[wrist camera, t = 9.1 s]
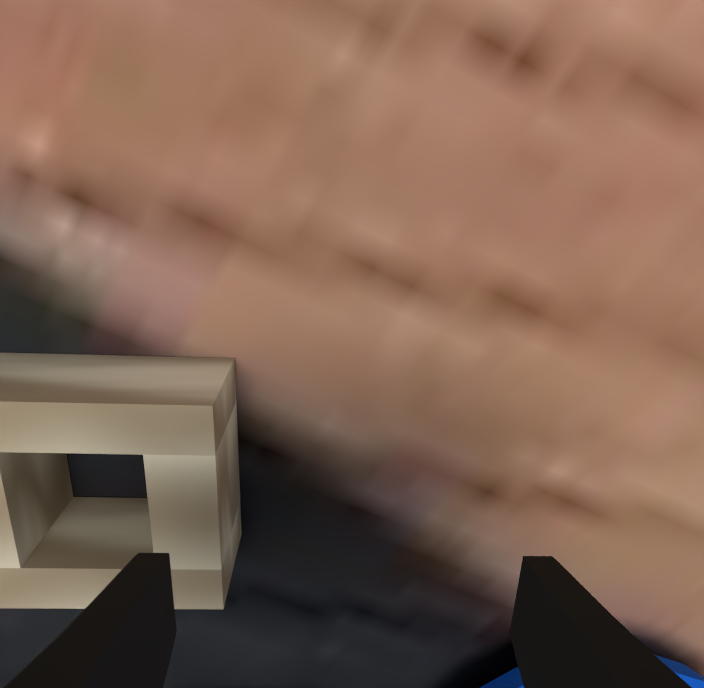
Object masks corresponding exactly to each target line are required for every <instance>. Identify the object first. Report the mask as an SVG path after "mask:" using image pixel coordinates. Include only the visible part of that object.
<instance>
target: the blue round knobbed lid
mask: <svg viewBox="0 0 704 688" xmlns="http://www.w3.org/2000/svg"><path fill="white" fill-rule="evenodd" d="M655 656H656V657H657V658H658V659H659V660H661V661H662V662H663V663H664V664H665V665H666V666H668V667H669V668H670V669H671V670H672V671H673V672H674V673H676V674H677V675H678V676H679V677H680V678H681V679H683V680H684V681H685V682H686V683H687V684H688V685H689V686H691V687H692V688H704V677H702V676H701V675H699V674H698V673H696V672H695V671H693V670H692V669H690V668H689V667H687V666H686V665H684V664H682V663H679V662H676V661H673V660H669V659H666V658H663V657H660V656H657V655H655ZM480 688H524V686H523V682H522V679H521V675H520V671H519V668H518V667H517V668H514V669H513V670H511V671H509V672H507V673H505V674H504V675H502V676H500V677H498V678H496V679H494V680H493V681H491V682H489V683H487V684H485V685H484V686H482V687H480Z"/></svg>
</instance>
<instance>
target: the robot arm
mask: <svg viewBox="0 0 704 688" xmlns="http://www.w3.org/2000/svg"><path fill="white" fill-rule="evenodd" d="M510 635H511V640H512V644H513V648H514V652H515V656H516V660H517V664H518V668H519V671H520V675H521V679H522V682H523V686H524V688H692V687H691V686H689V685H688V684H687V683H686V682H685V681H684V680H683V679H681V678H680V677H679V676H678V675H677V674H676V673H674V672H673V671H672V670H671V669H670V668H669V667H668V666H666V665H665V664H664V663H663V662H662V661H661V660H659V659H658V658H657V657H656V656H655V655H654V654H653V653H652V652H651V651H650V650H648V649H647V648H646V647H645V646H644V645H643V644H642V643H641V642H640V641H639V640H638V639H637V638H635V637H634V636H633V635H632V634H631V633H630V632H629V631H628V630H627V629H626V628H625V627H624V626H623V625H622V624H621V623H620V622H619V621H617V620H616V619H615V618H614V617H613V616H612V615H611V614H610V613H609V612H608V611H607V610H606V609H605V608H604V607H603V606H602V605H601V604H600V603H599V602H598V601H597V600H596V599H595V598H594V597H593V596H592V595H591V594H590V593H589V592H588V591H587V590H586V589H585V588H584V587H583V586H582V585H581V584H580V583H579V582H578V581H577V580H576V579H575V578H574V577H573V576H572V575H571V574H570V573H569V572H568V571H567V570H566V569H565V568H564V567H563V566H562V565H561V564H560V563H559V562H558V561H557V560H556V559H555V558H554V557H552V556H523V561H522V566H521V572H520V577H519V583H518V589H517V594H516V600H515V606H514V611H513V617H512V622H511V628H510ZM175 636H176V620H175V610H174V599H173V588H172V577H171V567H170V556H169V553H138V554H137V555H135V556H134V557H133V558H132V559H131V560H130V561H129V562H128V564H127V565H126V566H125V567H124V568H123V569H122V570H121V571H120V572H119V573H118V574H117V575H116V576H115V578H114V579H113V580H112V581H111V582H110V583H109V584H108V585H107V586H106V587H105V588H104V589H103V590H102V591H101V592H100V594H99V595H98V596H97V597H96V598H95V599H94V600H93V601H92V602H91V603H90V604H89V605H88V606H87V607H86V608H85V609H84V610H83V611H82V612H81V613H80V614H79V615H78V616H77V617H76V618H75V619H74V620H73V621H72V622H71V623H70V624H69V625H68V626H67V627H66V628H65V630H64V631H63V632H62V633H61V634H60V635H59V636H58V637H57V638H56V639H55V640H54V641H53V642H52V643H50V644H49V645H48V646H47V647H46V648H45V649H44V650H43V651H42V652H41V653H40V654H39V655H38V656H37V657H36V658H35V659H33V660H32V661H31V662H30V663H29V664H28V665H27V666H26V667H25V668H24V669H23V670H22V671H21V672H20V673H19V674H17V675H16V676H15V677H14V678H13V679H12V680H11V681H10V682H9V683H8V684H7V685H5V686H4V687H3V688H163V685H164V681H165V677H166V673H167V669H168V665H169V661H170V657H171V653H172V648H173V644H174V640H175Z"/></svg>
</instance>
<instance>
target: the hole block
mask: <svg viewBox="0 0 704 688" xmlns="http://www.w3.org/2000/svg"><path fill="white" fill-rule="evenodd" d="M67 453H79V454H139V455H143V459H144V469H145V478H146V488H147V497H148V498H109V497H73V491H72V485H71V478H70V472H69V466H68V460H67ZM240 538H241V507H240V480H239V453H238V426H237V399H236V372H235V358H205V357H163V356H122V355H80V354H38V353H0V608H67V609H85V608H86V607H87V606H88V605H89V604H90V603H91V602H92V601H93V600H94V599H95V598H96V597H97V596H98V595H99V594H100V592H101V591H102V590H103V589H104V588H105V587H106V586H107V585H108V584H109V583H110V582H111V581H112V580H113V579H114V578H115V576H116V575H117V574H118V573H119V572H120V571H121V570H122V569H123V568H124V567H125V566H126V565H127V564H128V562H129V561H130V560H131V559H132V558H133V557H134V556H135V555H137V554H138V553H169V556H170V567H171V577H172V588H173V599H174V609H224V605H225V601H226V597H227V593H228V588H229V584H230V580H231V576H232V572H233V567H234V563H235V559H236V555H237V551H238V547H239V542H240Z"/></svg>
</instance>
